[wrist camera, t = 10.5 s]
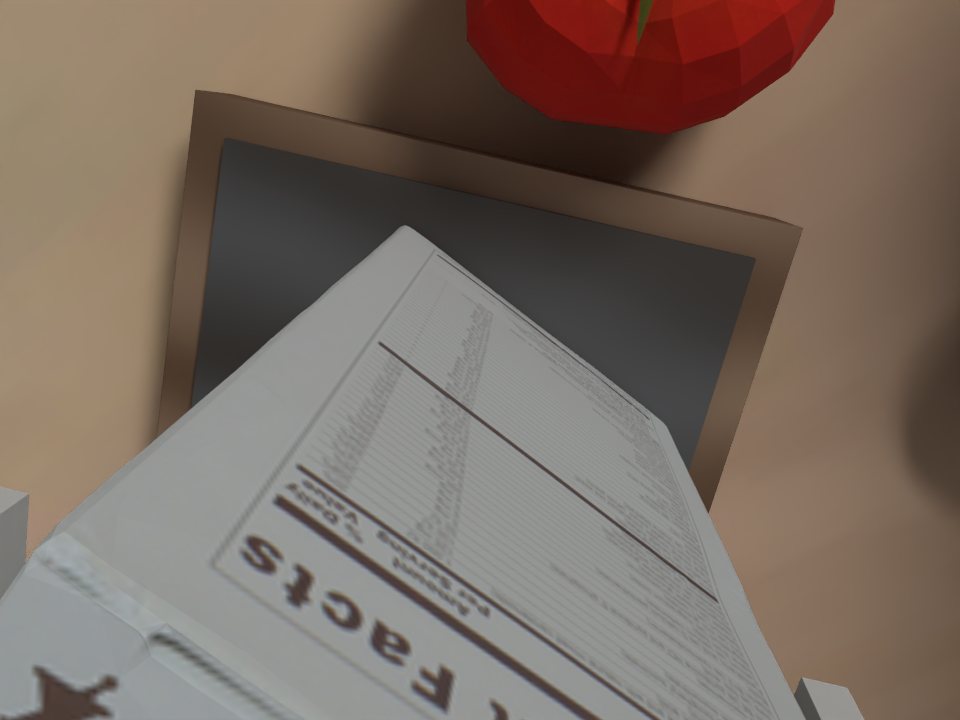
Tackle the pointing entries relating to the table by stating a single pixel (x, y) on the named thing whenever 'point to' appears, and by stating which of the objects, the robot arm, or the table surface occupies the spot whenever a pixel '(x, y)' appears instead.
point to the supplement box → (394, 538)
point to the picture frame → (471, 259)
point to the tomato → (641, 55)
